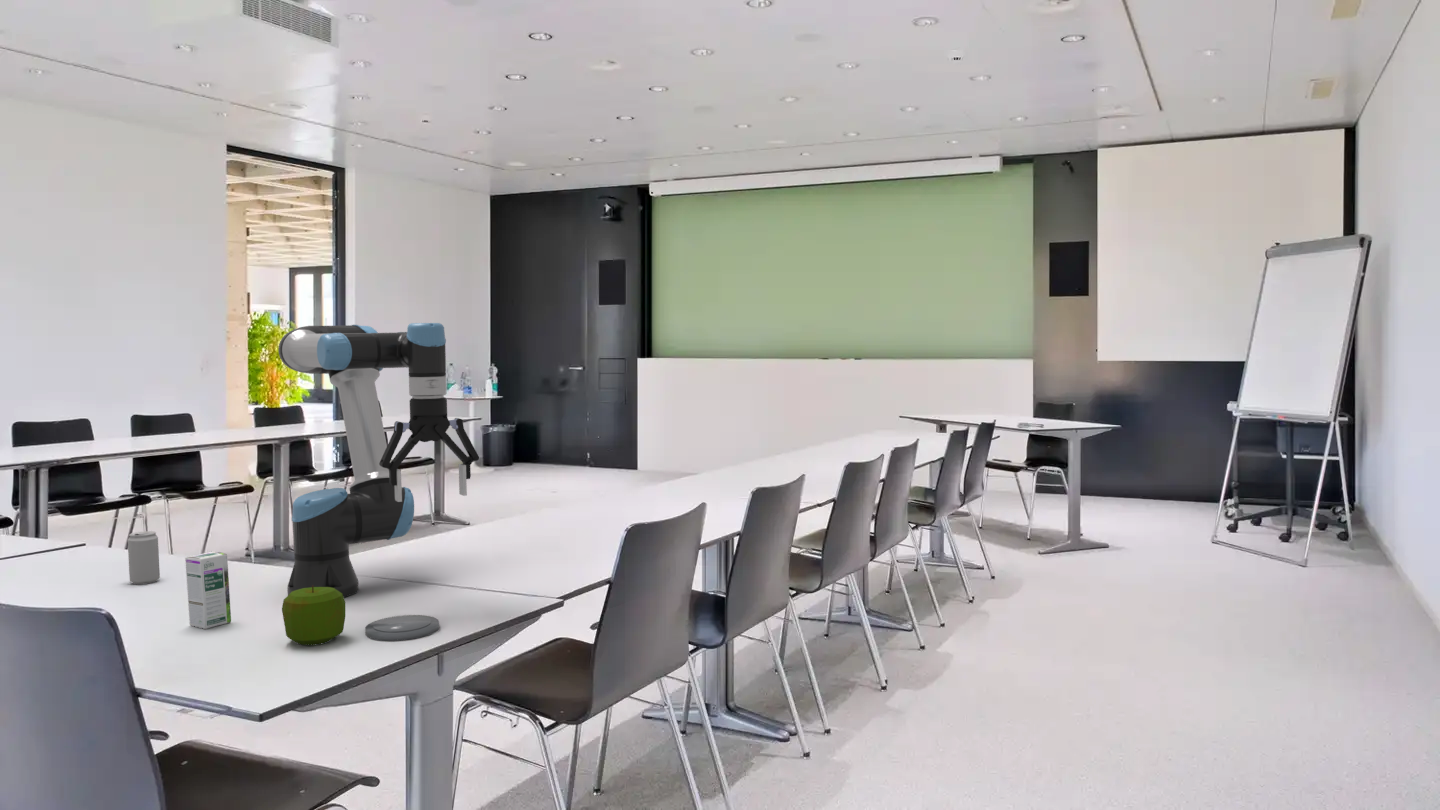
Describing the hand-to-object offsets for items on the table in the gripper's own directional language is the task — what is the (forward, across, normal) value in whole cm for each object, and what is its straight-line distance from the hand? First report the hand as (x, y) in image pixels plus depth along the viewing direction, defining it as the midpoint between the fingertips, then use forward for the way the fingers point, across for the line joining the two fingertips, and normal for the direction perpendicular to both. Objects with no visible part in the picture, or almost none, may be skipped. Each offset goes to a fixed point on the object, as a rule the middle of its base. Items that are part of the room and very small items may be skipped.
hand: (431, 498), depth 217 cm
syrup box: (+25, -41, +17) cm, 51 cm away
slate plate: (+24, -10, -11) cm, 28 cm away
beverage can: (+25, -51, +67) cm, 88 cm away
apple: (+24, -25, -8) cm, 36 cm away
